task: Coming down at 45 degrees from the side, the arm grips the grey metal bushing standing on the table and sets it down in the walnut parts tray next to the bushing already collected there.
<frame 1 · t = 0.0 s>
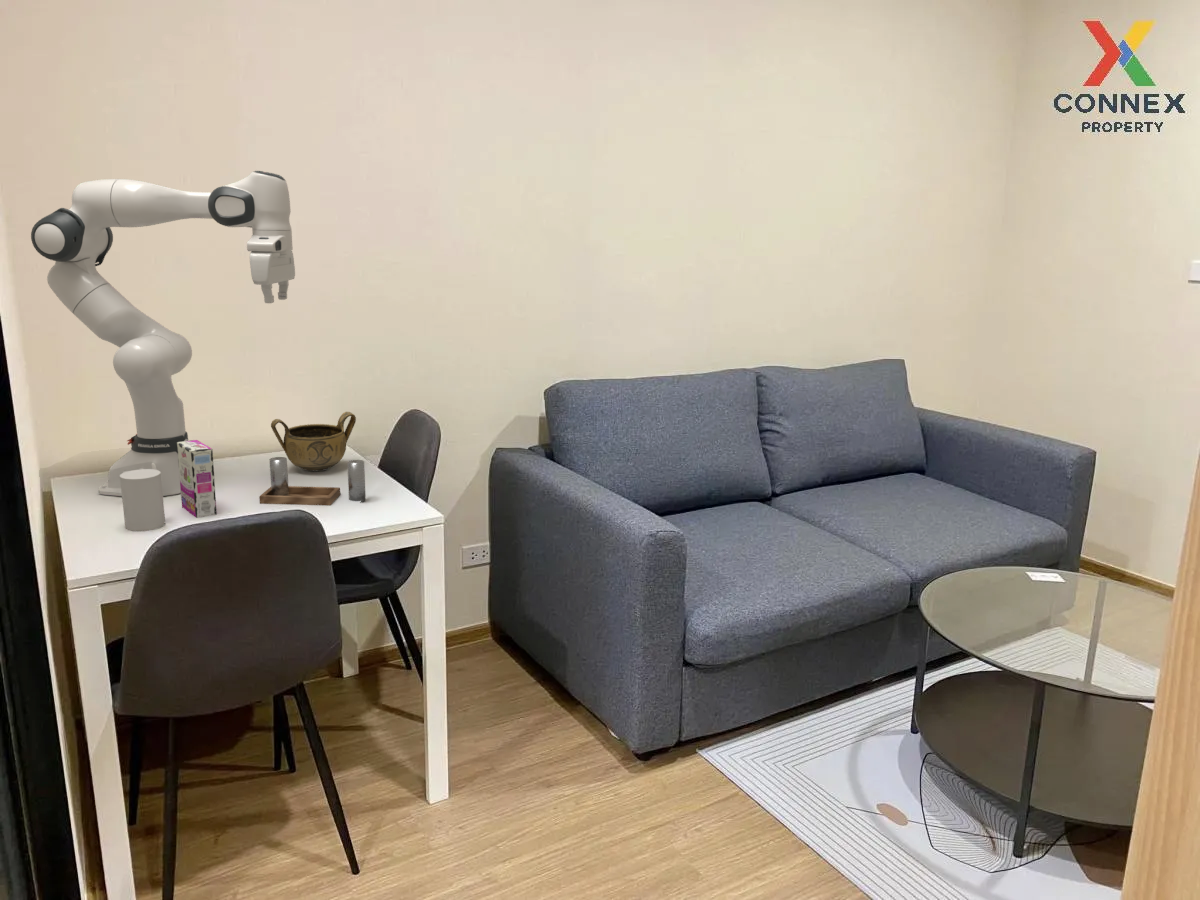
hand: (276, 301, 225), 48 cm above the table, tool pointing down, fingers open, 8 cm apart
bushing a: (280, 498, 229), point 1 cm above the table, touching parts tray
parts tray: (301, 501, 229), on the table
bushing c: (357, 500, 231), on the table
cup: (145, 526, 210), on the table
ceramic bowl: (316, 469, 258), on the table
candy bar box: (199, 513, 219), on the table
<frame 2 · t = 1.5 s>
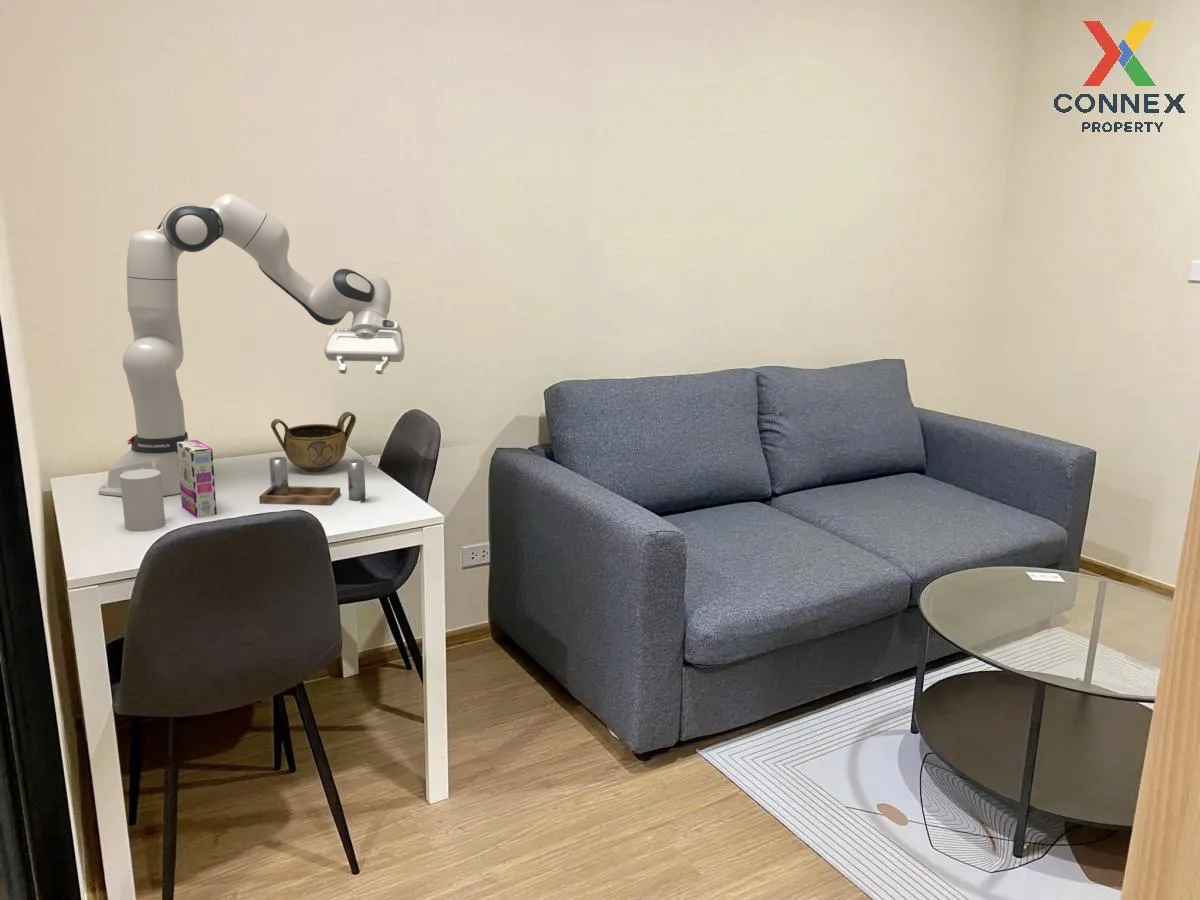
hand: (360, 372, 238), 29 cm above the table, tool tilted 45°, fingers open, 8 cm apart
nothing on the table moved.
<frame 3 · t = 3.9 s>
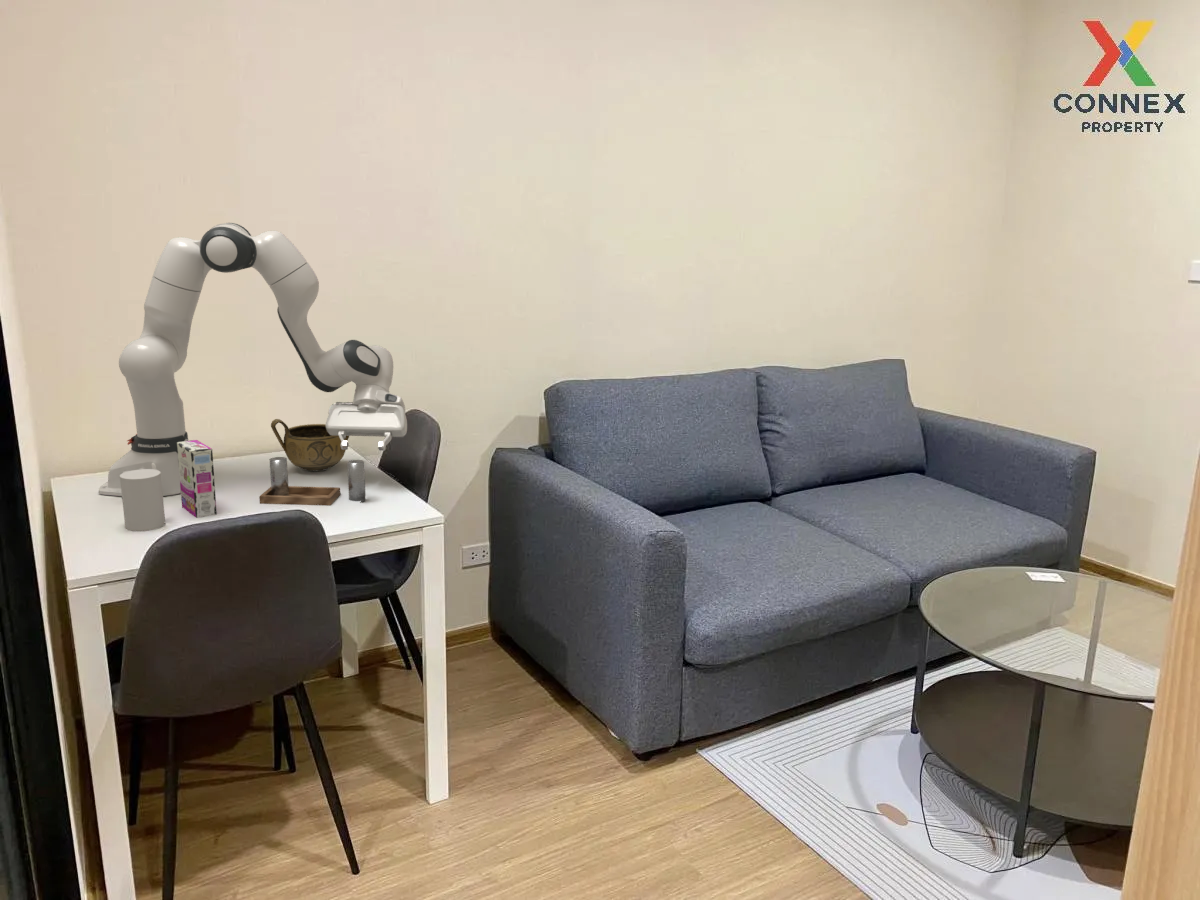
hand: (362, 448, 234), 12 cm above the table, tool tilted 45°, fingers open, 8 cm apart
nothing on the table moved.
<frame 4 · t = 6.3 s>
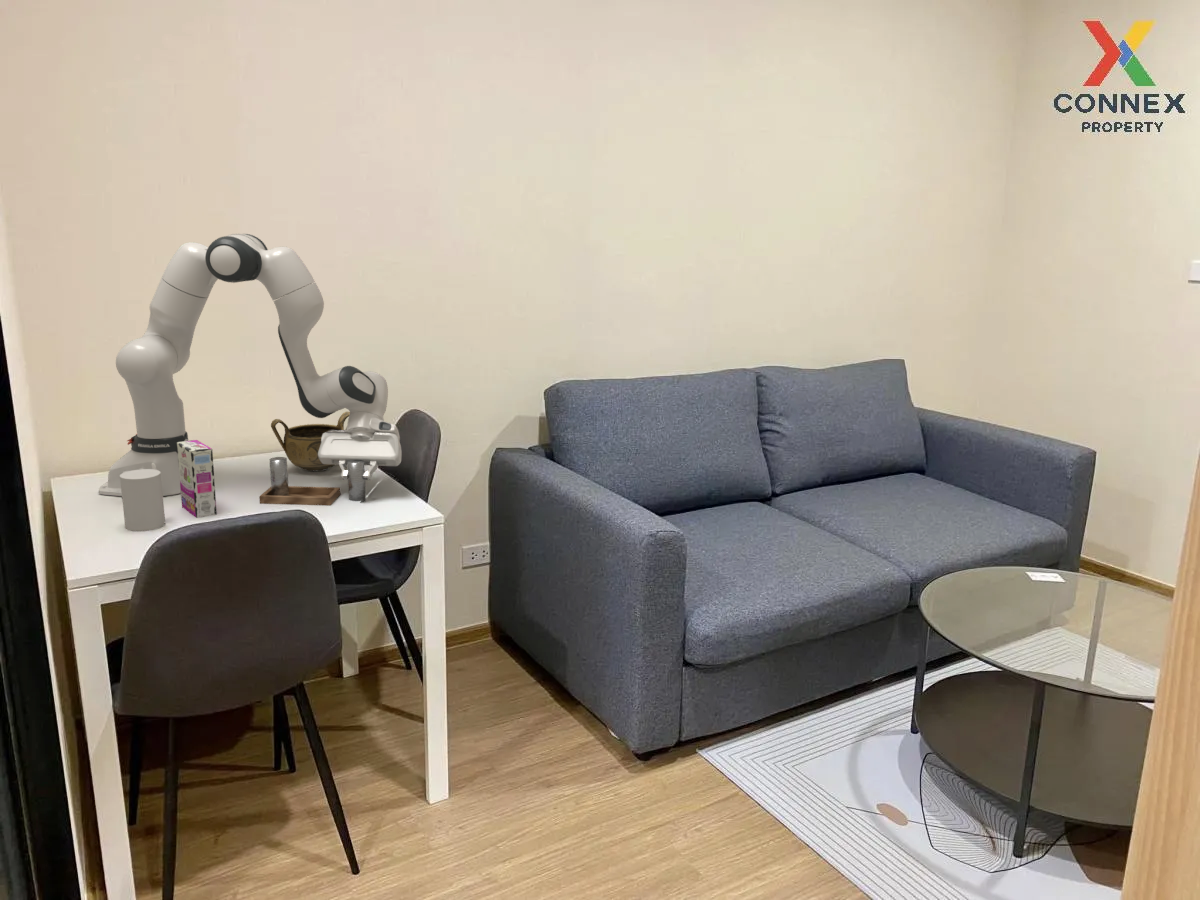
hand: (355, 478, 229), 6 cm above the table, tool tilted 45°, fingers closed on bushing c, 4 cm apart
bushing c: (357, 500, 231), on the table, touching gripper
everything else where it was.
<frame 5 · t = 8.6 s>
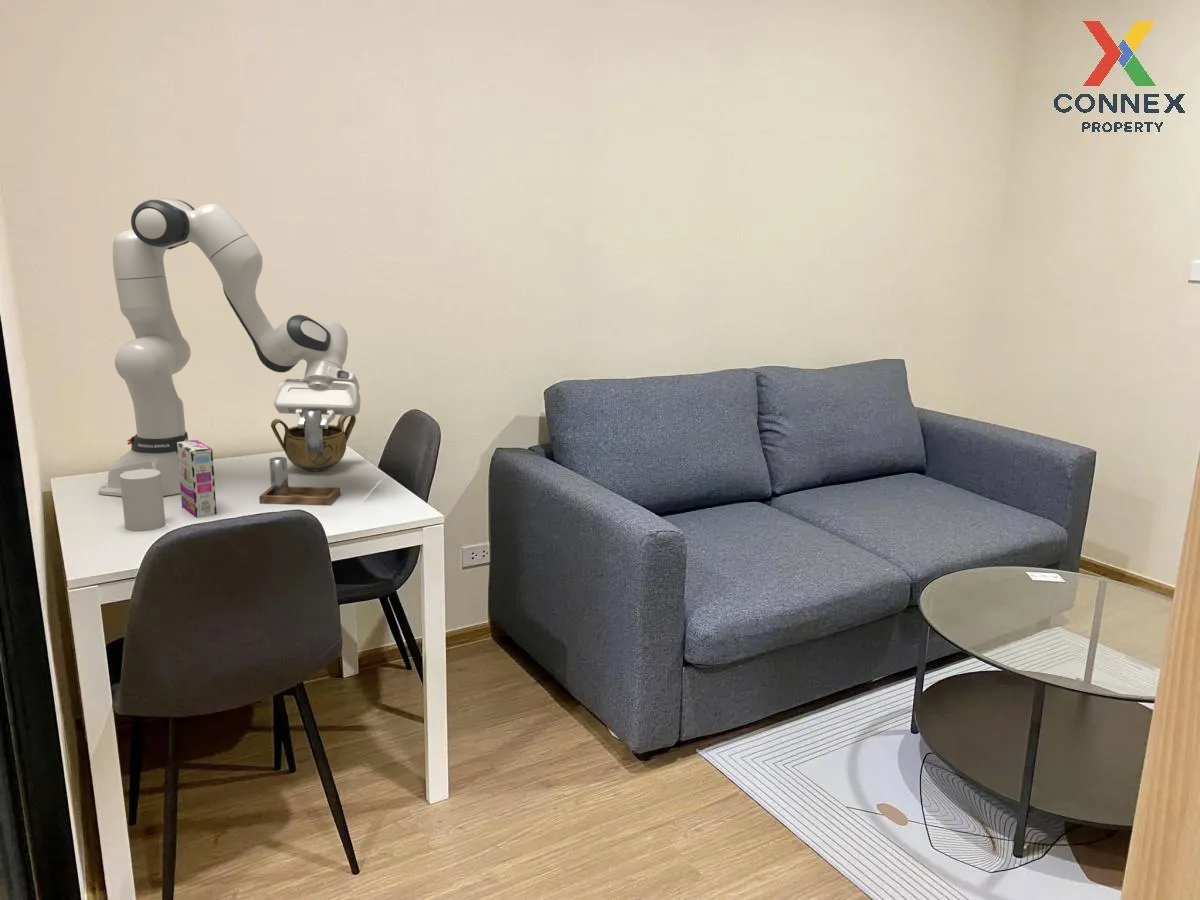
hand: (312, 427, 224), 19 cm above the table, tool tilted 45°, fingers closed on bushing c, 4 cm apart
bushing c: (314, 450, 226), point 13 cm above the table, touching gripper
everything else where it was.
when the fingers open (7 cm above the table, at t = 11.0 s): bushing c stays where it is, resting on parts tray.
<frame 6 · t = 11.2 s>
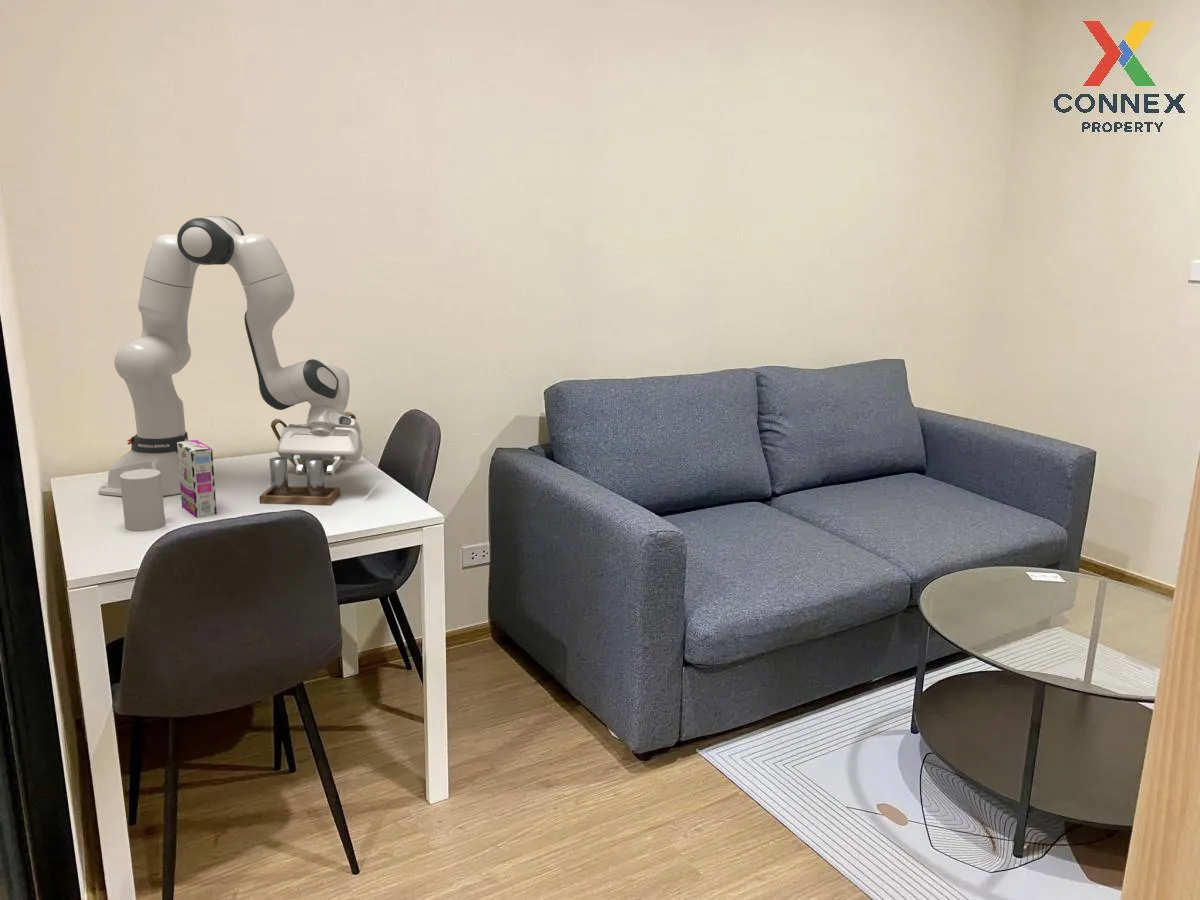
hand: (314, 473, 227), 7 cm above the table, tool tilted 45°, fingers open, 6 cm apart
bushing c: (316, 499, 229), point 1 cm above the table, touching parts tray
everything else where it was.
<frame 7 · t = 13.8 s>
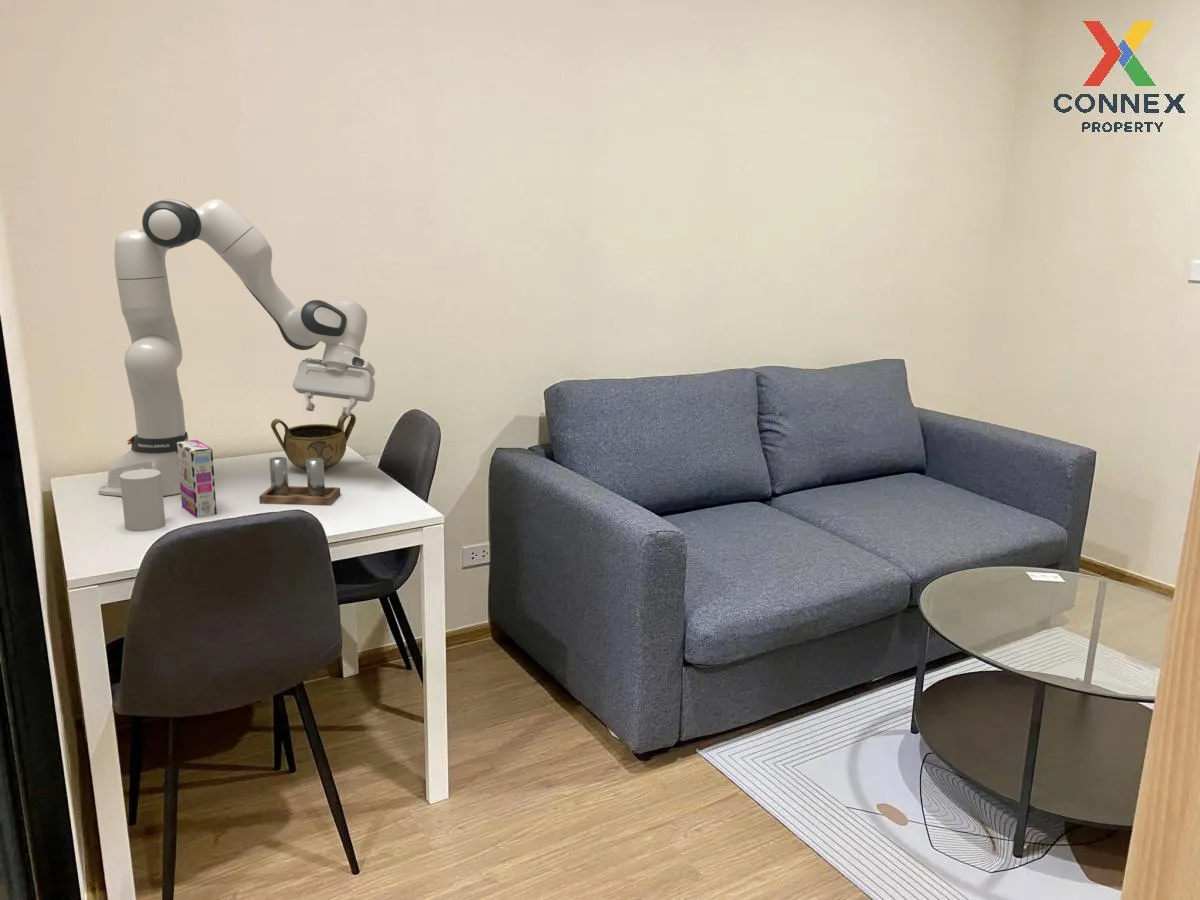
hand: (327, 412, 235), 20 cm above the table, tool tilted 30°, fingers open, 8 cm apart
nothing on the table moved.
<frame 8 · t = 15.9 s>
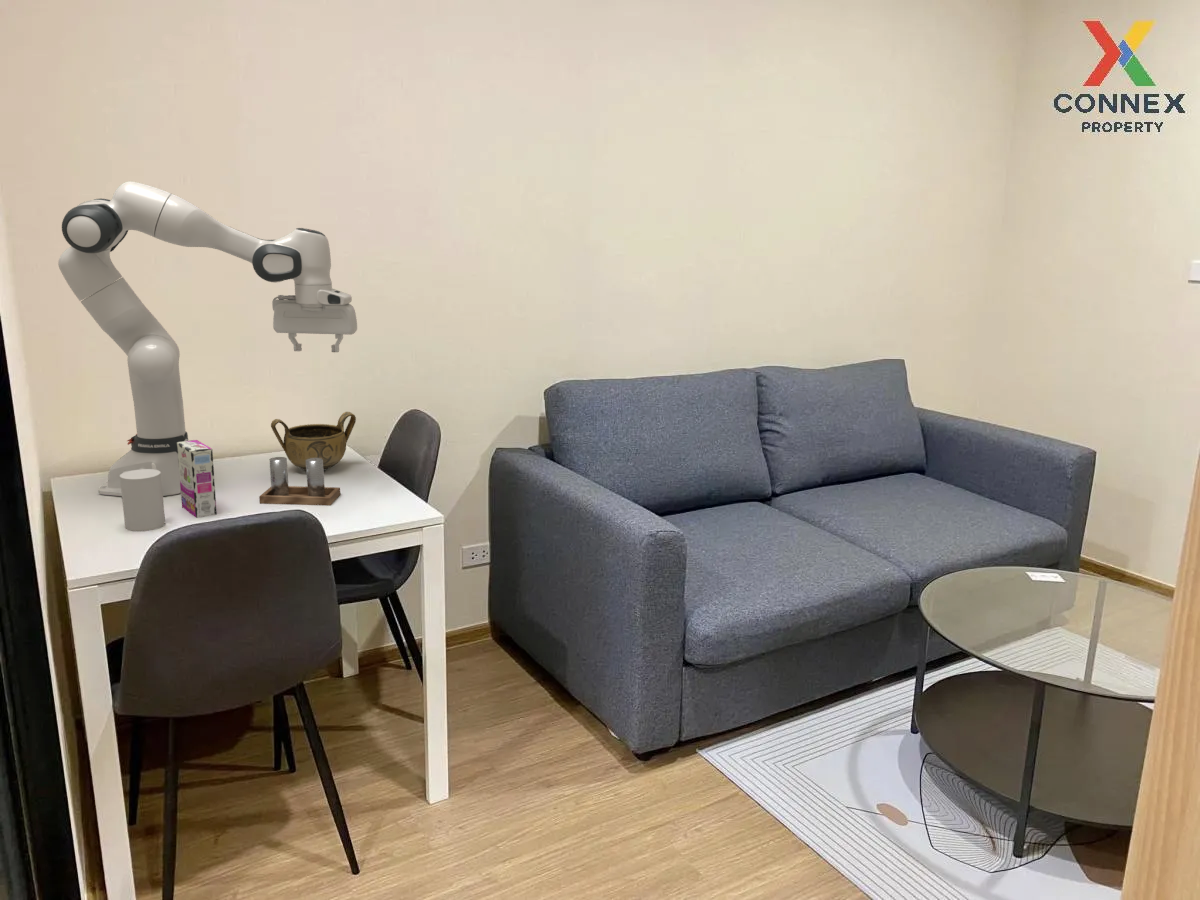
hand: (316, 351, 234), 35 cm above the table, tool pointing down, fingers open, 8 cm apart
nothing on the table moved.
at the end: bushing c inside the target area on the parts tray (3.9 cm from its centre), point 0.6 cm above the parts tray's base; bushing c tilted 1°; the gripper is holding nothing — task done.
